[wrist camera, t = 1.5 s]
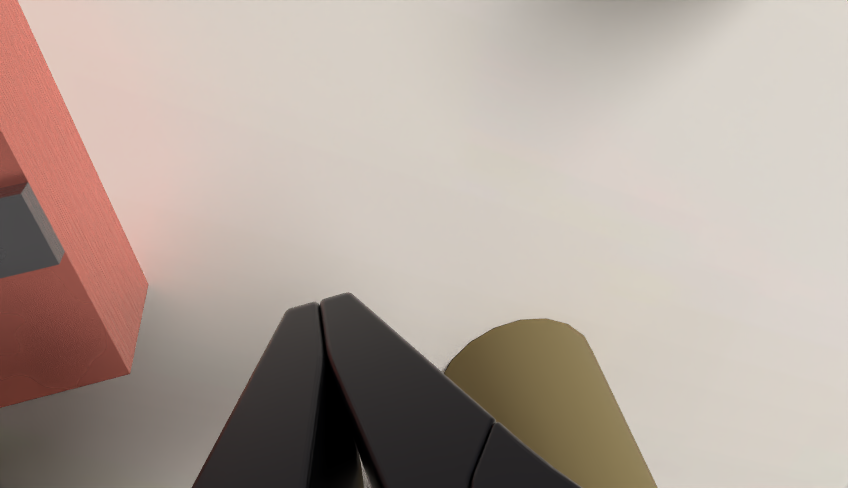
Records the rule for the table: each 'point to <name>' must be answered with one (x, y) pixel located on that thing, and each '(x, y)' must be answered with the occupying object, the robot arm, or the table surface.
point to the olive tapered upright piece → (553, 401)
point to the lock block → (56, 240)
